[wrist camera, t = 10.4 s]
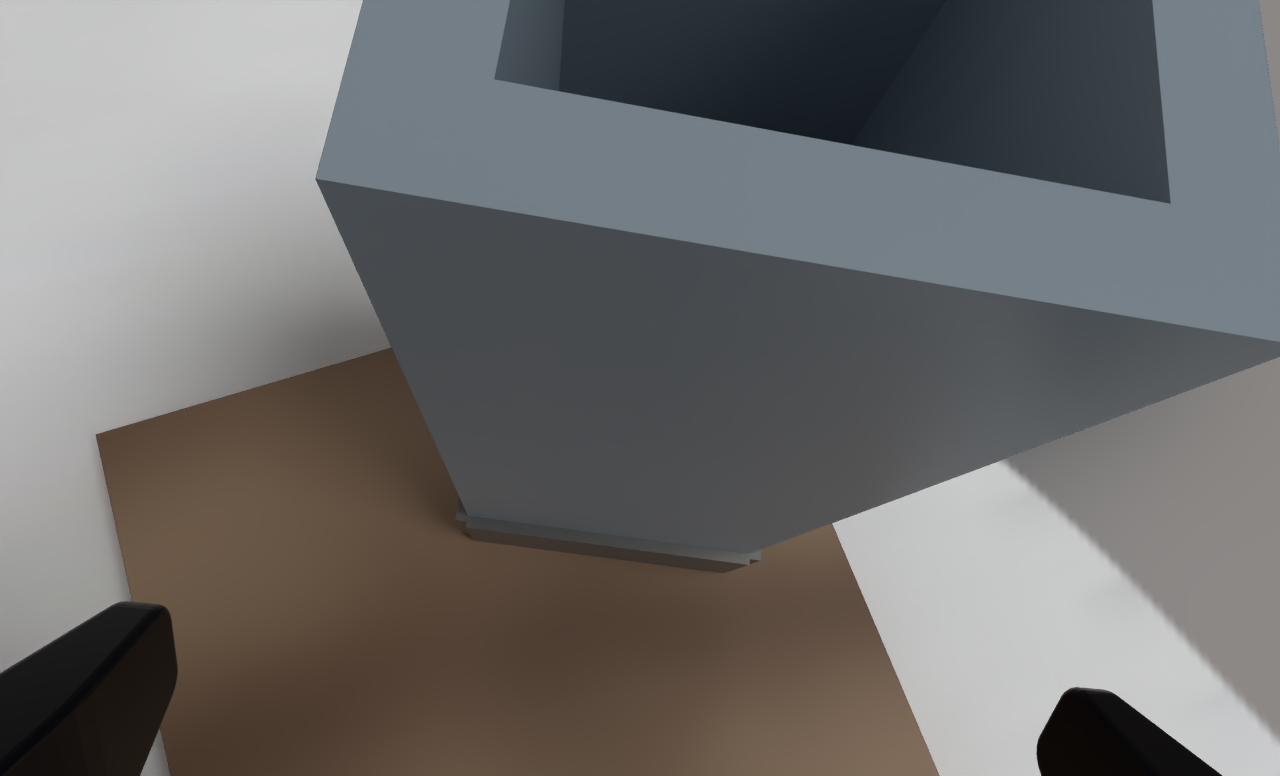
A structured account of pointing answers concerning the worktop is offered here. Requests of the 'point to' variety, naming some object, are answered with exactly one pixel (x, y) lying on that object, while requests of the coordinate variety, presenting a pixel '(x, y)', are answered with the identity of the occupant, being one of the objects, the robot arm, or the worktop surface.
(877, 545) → the worktop surface
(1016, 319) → the sleeve
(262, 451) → the pin board
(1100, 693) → the robot arm
